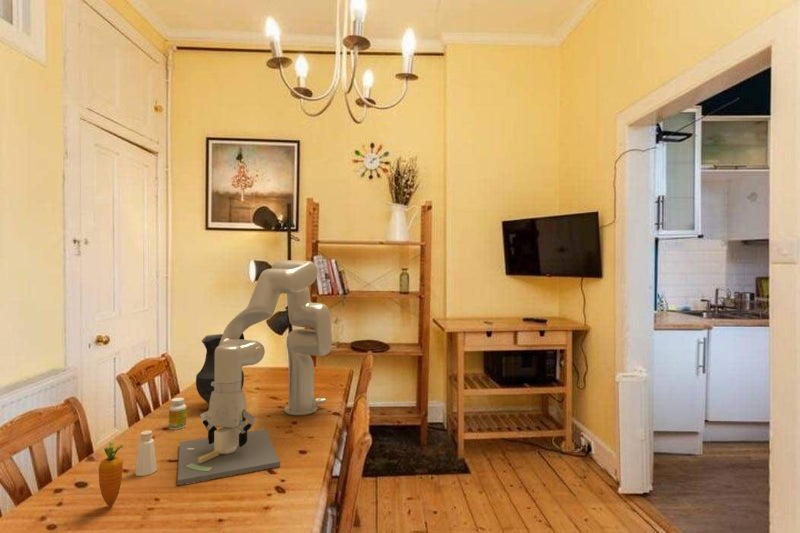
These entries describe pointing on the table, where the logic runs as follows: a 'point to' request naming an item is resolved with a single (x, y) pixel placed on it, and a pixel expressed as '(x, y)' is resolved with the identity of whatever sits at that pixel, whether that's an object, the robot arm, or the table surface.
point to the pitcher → (210, 367)
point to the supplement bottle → (177, 414)
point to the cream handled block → (223, 443)
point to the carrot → (110, 475)
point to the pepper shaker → (146, 455)
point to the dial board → (225, 458)
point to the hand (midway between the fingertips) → (227, 443)
